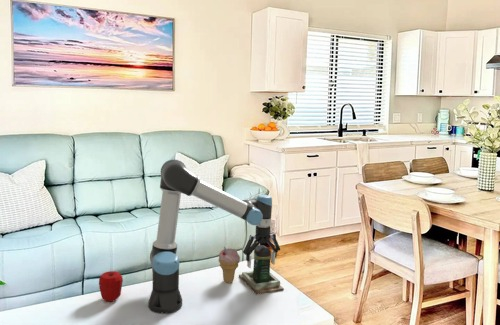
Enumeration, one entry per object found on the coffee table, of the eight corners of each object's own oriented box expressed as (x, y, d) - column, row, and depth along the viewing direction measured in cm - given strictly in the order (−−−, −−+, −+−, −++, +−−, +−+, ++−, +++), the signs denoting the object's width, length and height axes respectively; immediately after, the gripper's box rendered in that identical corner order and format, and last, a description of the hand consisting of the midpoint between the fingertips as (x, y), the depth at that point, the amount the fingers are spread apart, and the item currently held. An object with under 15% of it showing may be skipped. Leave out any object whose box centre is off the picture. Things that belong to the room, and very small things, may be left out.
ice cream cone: (236, 287, 215) (237, 249, 211) (215, 284, 217) (216, 247, 214) (241, 278, 225) (242, 242, 222) (221, 275, 227) (222, 239, 224)
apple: (125, 301, 196) (125, 274, 193) (102, 306, 190) (101, 278, 188) (119, 292, 205) (119, 265, 202) (97, 296, 199) (96, 269, 197)
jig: (256, 294, 208) (256, 288, 207) (238, 276, 227) (239, 270, 227) (283, 290, 214) (283, 283, 213) (264, 272, 234) (264, 266, 233)
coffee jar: (271, 284, 217) (273, 250, 214) (256, 286, 215) (258, 251, 212) (265, 276, 226) (266, 243, 223) (250, 278, 224) (252, 244, 221)
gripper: (243, 230, 207) (241, 271, 210) (288, 225, 217) (285, 265, 221) (237, 225, 214) (235, 265, 217) (281, 221, 224) (278, 259, 228)
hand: (261, 265), depth 219 cm, fingers open, 13 cm apart
